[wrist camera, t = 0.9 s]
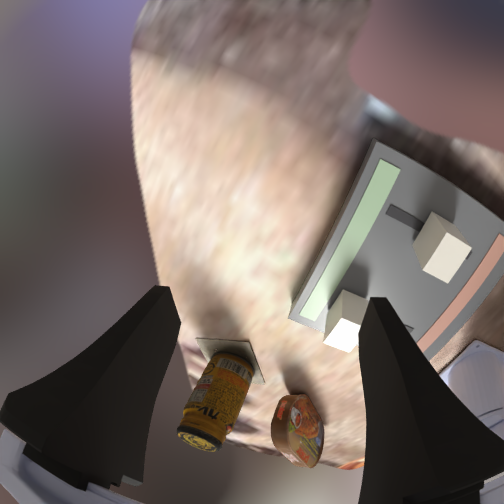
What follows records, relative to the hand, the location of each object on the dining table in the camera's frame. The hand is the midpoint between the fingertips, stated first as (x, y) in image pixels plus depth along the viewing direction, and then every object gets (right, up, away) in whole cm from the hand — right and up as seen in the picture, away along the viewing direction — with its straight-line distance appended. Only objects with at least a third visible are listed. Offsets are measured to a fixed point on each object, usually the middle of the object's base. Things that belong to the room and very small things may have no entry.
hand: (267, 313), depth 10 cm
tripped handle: (+13, +3, +8) cm, 15 cm away
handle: (+7, -2, +13) cm, 15 cm away
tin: (+7, -21, +27) cm, 35 cm away
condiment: (-3, -12, +25) cm, 28 cm away
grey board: (+13, +1, +12) cm, 18 cm away
